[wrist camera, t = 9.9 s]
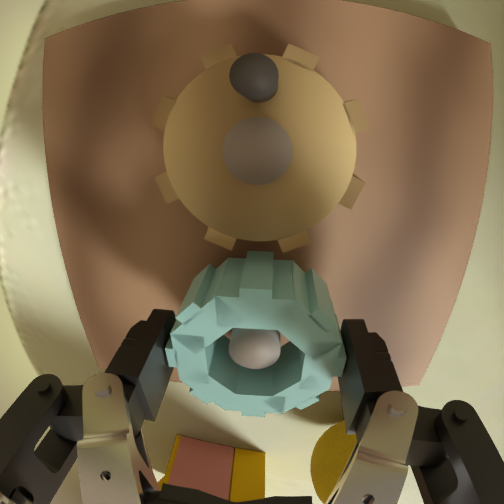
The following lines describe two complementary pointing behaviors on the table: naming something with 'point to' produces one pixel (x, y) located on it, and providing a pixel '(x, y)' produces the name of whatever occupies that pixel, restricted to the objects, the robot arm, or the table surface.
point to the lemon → (331, 459)
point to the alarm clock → (216, 469)
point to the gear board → (346, 244)
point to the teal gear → (257, 317)
